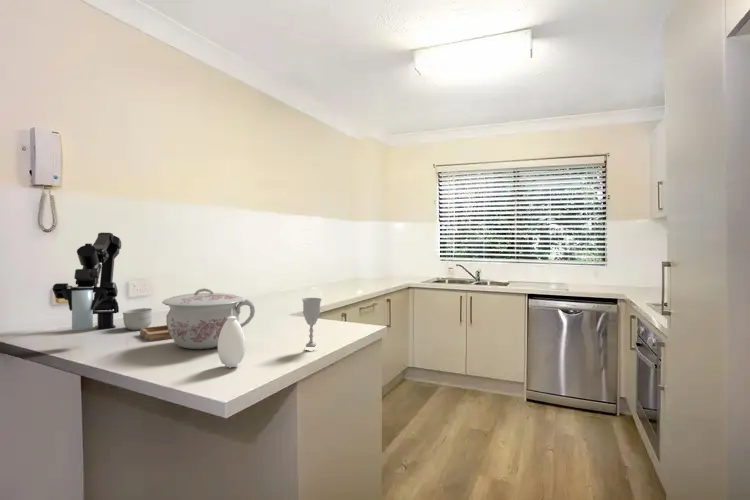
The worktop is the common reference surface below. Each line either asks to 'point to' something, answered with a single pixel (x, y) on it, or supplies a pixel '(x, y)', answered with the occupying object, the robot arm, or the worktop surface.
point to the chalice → (311, 315)
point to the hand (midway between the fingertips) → (81, 309)
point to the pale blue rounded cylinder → (82, 309)
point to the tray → (155, 333)
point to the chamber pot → (202, 317)
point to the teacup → (137, 318)
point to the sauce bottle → (231, 342)
